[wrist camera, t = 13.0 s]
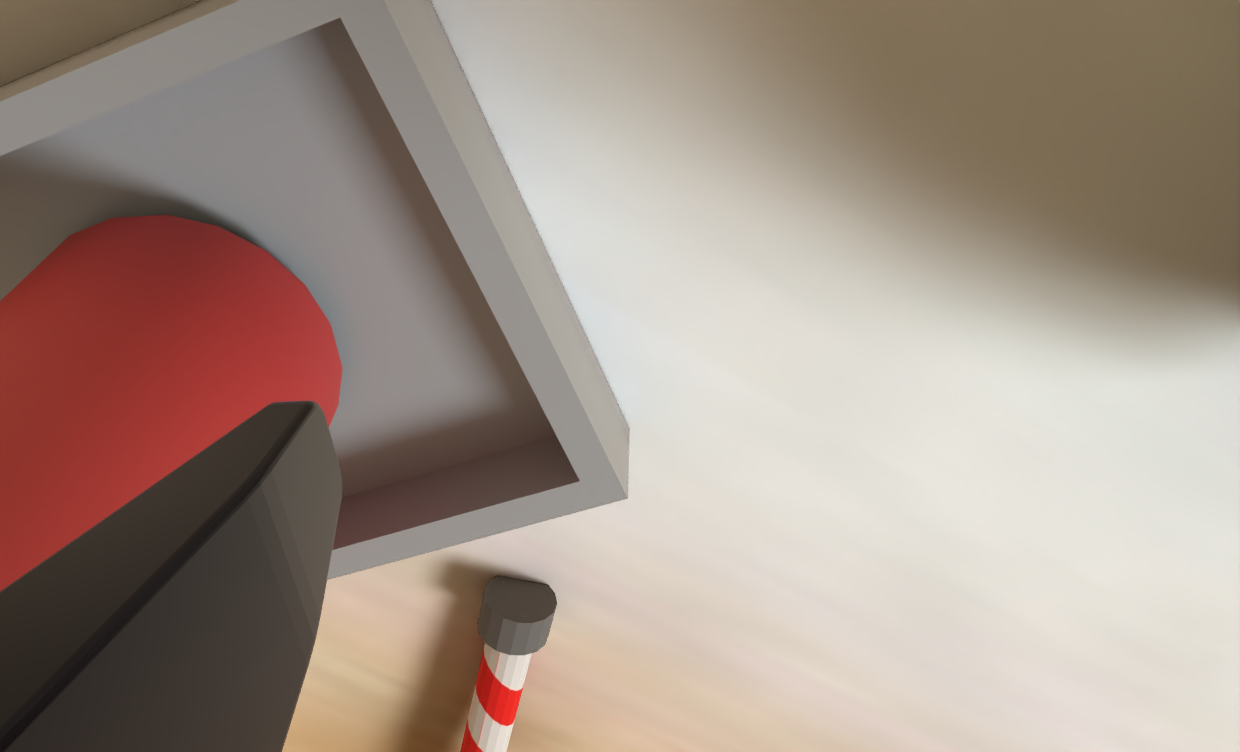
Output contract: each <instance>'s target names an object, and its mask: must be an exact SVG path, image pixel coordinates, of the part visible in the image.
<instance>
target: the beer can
mask: <svg viewBox="0 0 1240 752" xmlns="http://www.w3.org/2000/svg"><path fill="white" fill-rule="evenodd" d="M342 369H343V368H342V364H341V360H340V357H339V353H338V349H337V346H336V342H335V338H334V334H333V331H332V327H331V324H330V322H329V320H328V319H327V317H326V316H325V314H324V313H323V311H322V310H321V308H320V307H319V305H318V304H317V302H316V301H315V299H314V298H313V296H312V294H311V293H310V291H309V290H308V288H307V287H306V285H305V284H304V283H303V282H302V281H301V280H299V279H298V278H297V277H296V276H295V275H294V274H293V273H291V272H290V271H289V270H288V269H287V268H286V267H285V266H283V265H282V264H281V263H280V262H279V261H278V260H277V259H276V258H274V257H273V256H272V255H271V254H270V253H269V252H268V251H266V250H264V249H262V248H261V247H259V246H257V245H255V244H253V243H251V242H249V241H247V240H245V239H243V238H241V237H239V236H237V235H235V234H233V233H231V232H229V231H227V230H225V229H223V228H221V227H219V226H216V225H211V224H207V223H202V222H198V221H193V220H189V219H185V218H180V217H176V216H171V215H152V216H134V217H117V218H110V219H108V220H105V221H103V222H100V223H98V224H96V225H93V226H91V227H88V228H86V229H83V230H81V231H79V232H76V233H74V234H71V235H69V236H68V237H67V238H66V239H65V240H64V241H63V242H62V243H61V244H60V245H59V246H58V247H57V248H56V249H55V250H54V251H52V252H51V253H50V254H49V255H48V256H47V257H46V258H45V259H44V260H43V261H42V262H41V263H40V264H39V265H38V266H37V267H36V268H35V269H34V270H32V271H31V272H30V273H29V274H28V275H27V276H26V277H25V278H24V279H23V280H22V281H21V282H20V283H19V284H18V285H17V286H16V287H15V288H14V289H13V290H11V291H10V292H9V293H8V294H7V295H6V296H5V297H4V298H3V299H2V300H1V301H0V591H1V590H3V589H4V588H6V587H7V586H8V585H10V584H11V583H13V582H14V581H16V580H17V579H19V578H20V577H21V576H23V575H24V574H26V573H27V572H29V571H30V570H31V569H33V568H34V567H36V566H37V565H39V564H40V563H42V562H43V561H44V560H46V559H47V558H49V557H50V556H52V555H53V554H54V553H56V552H57V551H59V550H60V549H62V548H63V547H65V546H66V545H67V544H69V543H70V542H72V541H73V540H75V539H76V538H77V537H79V536H80V535H82V534H83V533H85V532H86V531H88V530H89V529H90V528H92V527H93V526H95V525H96V524H98V523H99V522H100V521H102V520H103V519H105V518H106V517H108V516H109V515H111V514H112V513H113V512H115V511H116V510H118V509H119V508H121V507H122V506H123V505H125V504H126V503H128V502H129V501H131V500H132V499H134V498H135V497H136V496H138V495H139V494H141V493H142V492H144V491H145V490H146V489H148V488H149V487H151V486H152V485H154V484H155V483H156V482H158V481H159V480H161V479H162V478H164V477H165V476H167V475H168V474H169V473H171V472H172V471H174V470H175V469H177V468H178V467H179V466H181V465H182V464H184V463H185V462H187V461H188V460H190V459H191V458H192V457H194V456H195V455H197V454H198V453H200V452H201V451H202V450H204V449H205V448H207V447H208V446H210V445H211V444H212V443H214V442H215V441H217V440H218V439H220V438H221V437H223V436H224V435H225V434H227V433H228V432H230V431H231V430H233V429H234V428H235V427H237V426H238V425H240V424H241V423H243V422H244V421H245V420H247V419H248V418H250V417H251V416H253V415H254V414H256V413H257V412H258V411H260V410H261V409H263V408H264V407H266V406H267V405H269V404H271V403H274V402H285V401H314V402H316V403H317V404H319V405H320V407H321V408H322V410H323V412H324V414H325V417H326V420H327V424H328V427H329V426H330V424H331V421H332V419H333V417H334V414H335V412H336V410H337V408H338V404H339V395H340V386H341V378H342Z"/></svg>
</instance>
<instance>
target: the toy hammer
mask: <svg viewBox="0 0 1240 752" xmlns="http://www.w3.org/2000/svg"><path fill="white" fill-rule="evenodd" d="M556 605H557V601H556V596H555V593H554V592H553V590H552V589H551V588H550V586H549V585H545V584H540V583H534V582H529V581H523V580H518V579H512V578H507V577H501V576H496V577H495V578H493V579H492V580H490V581H489V582H488V584H487V586H486V588H485V590H484V595H483V599H482V604H481V609H480V613H479V618H478V622H477V624H478V633H479V635H480V636H481V638H482V639H483V641H484V642H485V645H484V650H483V654H482V659H481V663H480V668H479V672H478V676H477V681H476V685H475V690H474V694H473V698H472V703H471V707H470V712H469V716H468V720H467V725H466V729H465V734H464V738H463V742H462V747H461V751H460V752H506V751H507V747H508V744H509V740H510V736H511V732H512V728H513V724H514V720H515V716H516V712H517V709H518V705H519V701H520V697H521V693H522V689H523V685H524V681H525V678H526V674H527V670H528V666H529V662H530V658H531V655H532V653H534V652H537V651H538V650H539V649H540V648H541V647H543V646H544V645H545V643H546V641H547V638H548V635H549V632H550V628H551V624H552V620H553V616H554V613H555V609H556Z"/></svg>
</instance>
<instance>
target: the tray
mask: <svg viewBox="0 0 1240 752" xmlns="http://www.w3.org/2000/svg"><path fill="white" fill-rule="evenodd" d="M152 215H171V216H176V217H180V218H185V219H189V220H193V221H198V222H202V223H207V224H211V225H216V226H219V227H221V228H223V229H225V230H227V231H229V232H231V233H233V234H235V235H237V236H239V237H241V238H243V239H245V240H247V241H249V242H251V243H253V244H255V245H257V246H259V247H261V248H262V249H264V250H266V251H268V252H269V253H270V254H271V255H272V256H273V257H274V258H276V259H277V260H278V261H279V262H280V263H281V264H282V265H283V266H285V267H286V268H287V269H288V270H289V271H290V272H291V273H293V274H294V275H295V276H296V277H297V278H298V279H299V280H301V281H302V282H303V283H304V284H305V285H306V287H307V288H308V290H309V291H310V293H311V294H312V296H313V298H314V299H315V301H316V302H317V304H318V305H319V307H320V308H321V310H322V311H323V313H324V314H325V316H326V317H327V319H328V320H329V322H330V324H331V327H332V331H333V334H334V338H335V342H336V346H337V349H338V353H339V357H340V360H341V364H342V368H343V369H342V378H341V386H340V395H339V404H338V408H337V410H336V412H335V414H334V417H333V419H332V421H331V424H330V426H329V431H330V434H331V438H332V441H333V445H334V448H335V452H336V455H337V459H338V462H339V466H340V470H341V475H342V499H341V504H340V510H339V515H338V521H337V527H336V532H335V538H334V543H333V549H332V554H331V560H330V565H329V571H328V577H327V580H328V579H332V578H336V577H340V576H343V575H347V574H351V573H354V572H358V571H362V570H365V569H369V568H373V567H376V566H380V565H384V564H387V563H391V562H395V561H399V560H402V559H406V558H410V557H413V556H417V555H421V554H424V553H428V552H432V551H435V550H439V549H443V548H446V547H450V546H454V545H458V544H461V543H465V542H469V541H472V540H476V539H480V538H483V537H487V536H491V535H494V534H498V533H502V532H505V531H509V530H513V529H517V528H520V527H524V526H528V525H531V524H535V523H539V522H542V521H546V520H550V519H553V518H557V517H561V516H564V515H568V514H572V513H576V512H579V511H583V510H587V509H590V508H594V507H598V506H601V505H605V504H609V503H612V502H616V501H620V500H623V499H627V498H628V468H629V427H628V425H627V422H626V420H625V418H624V416H623V414H622V412H621V409H620V407H619V405H618V403H617V401H616V399H615V397H614V394H613V392H612V390H611V388H610V386H609V384H608V381H607V379H606V377H605V375H604V373H603V371H602V369H601V366H600V364H599V362H598V360H597V358H596V356H595V354H594V351H593V349H592V347H591V345H590V343H589V341H588V338H587V336H586V334H585V332H584V330H583V328H582V326H581V323H580V321H579V319H578V317H577V315H576V313H575V311H574V308H573V306H572V304H571V302H570V300H569V298H568V295H567V293H566V291H565V289H564V287H563V285H562V283H561V280H560V278H559V276H558V274H557V272H556V270H555V267H554V265H553V263H552V261H551V259H550V257H549V255H548V252H547V250H546V248H545V246H544V244H543V242H542V240H541V237H540V235H539V233H538V231H537V229H536V227H535V224H534V222H533V220H532V218H531V216H530V214H529V212H528V209H527V207H526V205H525V203H524V201H523V199H522V196H521V194H520V192H519V190H518V188H517V186H516V184H515V181H514V179H513V177H512V175H511V173H510V171H509V169H508V166H507V164H506V162H505V160H504V158H503V156H502V153H501V151H500V149H499V147H498V145H497V143H496V141H495V138H494V136H493V134H492V132H491V130H490V128H489V126H488V123H487V121H486V119H485V117H484V115H483V113H482V110H481V108H480V106H479V104H478V102H477V100H476V98H475V95H474V93H473V91H472V89H471V87H470V85H469V82H468V80H467V78H466V76H465V74H464V72H463V70H462V67H461V65H460V63H459V61H458V59H457V57H456V55H455V52H454V50H453V48H452V46H451V44H450V42H449V39H448V37H447V35H446V33H445V31H444V29H443V27H442V24H441V22H440V20H439V18H438V16H437V14H436V12H435V9H434V7H433V5H432V3H431V1H430V0H202V1H200V2H197V3H195V4H193V5H190V6H188V7H186V8H183V9H181V10H179V11H176V12H174V13H172V14H169V15H167V16H165V17H162V18H160V19H157V20H155V21H153V22H150V23H148V24H146V25H143V26H141V27H139V28H136V29H134V30H132V31H129V32H127V33H125V34H122V35H120V36H118V37H115V38H113V39H111V40H108V41H106V42H104V43H101V44H99V45H96V46H94V47H92V48H89V49H87V50H85V51H82V52H80V53H78V54H75V55H73V56H71V57H68V58H66V59H64V60H61V61H59V62H57V63H54V64H52V65H50V66H47V67H45V68H42V69H40V70H38V71H35V72H33V73H31V74H28V75H26V76H24V77H21V78H19V79H17V80H14V81H12V82H10V83H7V84H5V85H3V86H0V301H1V300H2V299H3V298H4V297H5V296H6V295H7V294H8V293H9V292H10V291H11V290H13V289H14V288H15V287H16V286H17V285H18V284H19V283H20V282H21V281H22V280H23V279H24V278H25V277H26V276H27V275H28V274H29V273H30V272H31V271H32V270H34V269H35V268H36V267H37V266H38V265H39V264H40V263H41V262H42V261H43V260H44V259H45V258H46V257H47V256H48V255H49V254H50V253H51V252H52V251H54V250H55V249H56V248H57V247H58V246H59V245H60V244H61V243H62V242H63V241H64V240H65V239H66V238H67V237H68V236H69V235H71V234H74V233H76V232H79V231H81V230H83V229H86V228H88V227H91V226H93V225H96V224H98V223H100V222H103V221H105V220H108V219H110V218H117V217H134V216H152Z"/></svg>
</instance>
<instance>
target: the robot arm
mask: <svg viewBox="0 0 1240 752" xmlns="http://www.w3.org/2000/svg"><path fill="white" fill-rule="evenodd" d="M341 499H342V475H341V470H340V466H339V462H338V459H337V455H336V452H335V448H334V445H333V441H332V438H331V434H330V431H329V427H328V424H327V420H326V417H325V414H324V412H323V410H322V408H321V407H320V405H319V404H317V403H316V402H314V401H285V402H274V403H271V404H269V405H267V406H266V407H264V408H263V409H261V410H260V411H258V412H257V413H256V414H254V415H253V416H251V417H250V418H248V419H247V420H245V421H244V422H243V423H241V424H240V425H238V426H237V427H235V428H234V429H233V430H231V431H230V432H228V433H227V434H225V435H224V436H223V437H221V438H220V439H218V440H217V441H215V442H214V443H212V444H211V445H210V446H208V447H207V448H205V449H204V450H202V451H201V452H200V453H198V454H197V455H195V456H194V457H192V458H191V459H190V460H188V461H187V462H185V463H184V464H182V465H181V466H179V467H178V468H177V469H175V470H174V471H172V472H171V473H169V474H168V475H167V476H165V477H164V478H162V479H161V480H159V481H158V482H156V483H155V484H154V485H152V486H151V487H149V488H148V489H146V490H145V491H144V492H142V493H141V494H139V495H138V496H136V497H135V498H134V499H132V500H131V501H129V502H128V503H126V504H125V505H123V506H122V507H121V508H119V509H118V510H116V511H115V512H113V513H112V514H111V515H109V516H108V517H106V518H105V519H103V520H102V521H100V522H99V523H98V524H96V525H95V526H93V527H92V528H90V529H89V530H88V531H86V532H85V533H83V534H82V535H80V536H79V537H77V538H76V539H75V540H73V541H72V542H70V543H69V544H67V545H66V546H65V547H63V548H62V549H60V550H59V551H57V552H56V553H54V554H53V555H52V556H50V557H49V558H47V559H46V560H44V561H43V562H42V563H40V564H39V565H37V566H36V567H34V568H33V569H31V570H30V571H29V572H27V573H26V574H24V575H23V576H21V577H20V578H19V579H17V580H16V581H14V582H13V583H11V584H10V585H8V586H7V587H6V588H4V589H3V590H1V591H0V752H282V749H283V746H284V743H285V740H286V736H287V733H288V730H289V727H290V724H291V720H292V717H293V714H294V711H295V707H296V704H297V701H298V698H299V694H300V691H301V688H302V685H303V681H304V678H305V675H306V672H307V668H308V665H309V662H310V658H311V654H312V651H313V647H314V644H315V640H316V635H317V630H318V625H319V620H320V615H321V610H322V604H323V599H324V593H325V588H326V582H327V577H328V571H329V565H330V560H331V554H332V549H333V543H334V538H335V532H336V527H337V521H338V515H339V510H340V504H341Z"/></svg>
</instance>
